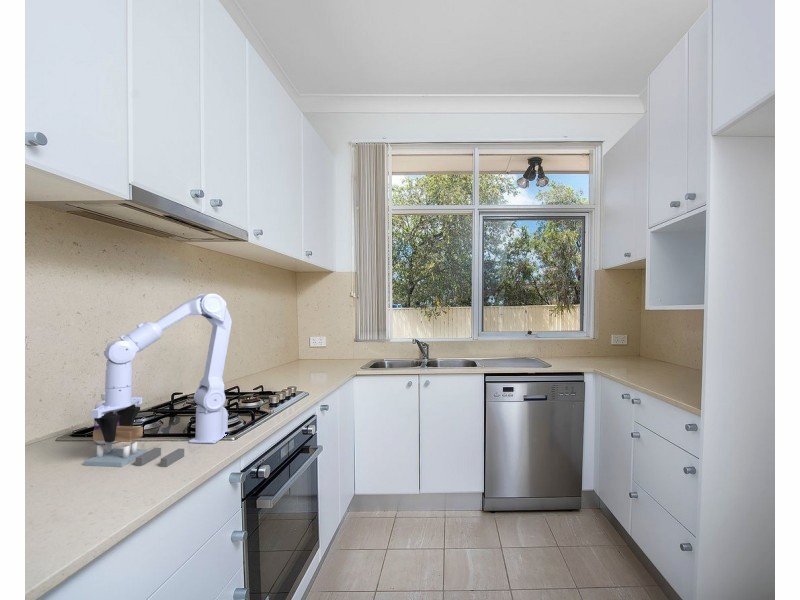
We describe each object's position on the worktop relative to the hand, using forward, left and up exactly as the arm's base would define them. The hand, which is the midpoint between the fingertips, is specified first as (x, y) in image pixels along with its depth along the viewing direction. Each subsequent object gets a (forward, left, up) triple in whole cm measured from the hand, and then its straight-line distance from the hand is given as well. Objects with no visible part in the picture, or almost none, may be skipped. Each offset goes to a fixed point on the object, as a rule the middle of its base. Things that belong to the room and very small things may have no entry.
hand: (117, 438), depth 100 cm
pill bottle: (-13, -13, -6) cm, 19 cm away
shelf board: (0, 0, 0) cm, 0 cm away
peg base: (0, 0, -5) cm, 5 cm away
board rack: (0, +12, -5) cm, 13 cm away
